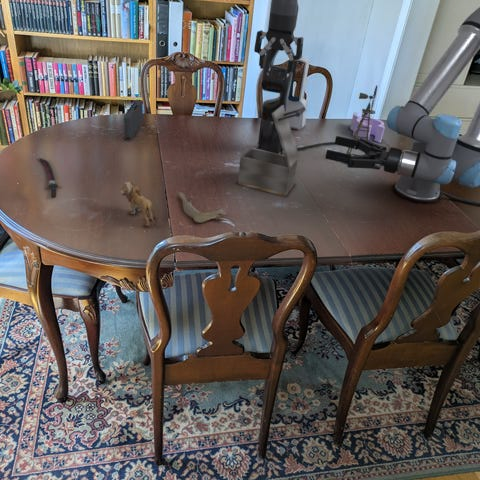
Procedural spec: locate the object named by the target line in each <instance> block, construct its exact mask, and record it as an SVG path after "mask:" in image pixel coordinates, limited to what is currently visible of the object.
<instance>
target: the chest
mask: <svg viewBox="0 0 480 480" xmlns="http://www.w3.org/2000/svg"><path fill="white" fill-rule="evenodd" d="M298 160H299V158H298V159H297V160H296V162H295V163H294V164H293V165H292V166H291V167H290V168H289V167H288V164H287V161H286V157H285V154H277V153H273V152H268V151H264V150H260V149H257V148H255V147H250V148H248V149H247V150H246V151H245V152H243V154H242V155H241V156H240V158H239V167H238V168H239V169H238V176H237V185H240V186H244V187H248V188H252V189H256V190H260V191H264V192H268V193H271V194H275V195H278V196H283V197H286V196H287V195H288V193H289V192H290V191H291V189H292V188H293V186H294V184H295V178H296V173H297V172H296V171H297V168H298V167H297V166H298Z"/></svg>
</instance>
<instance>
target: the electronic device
mask: <svg viewBox="0 0 480 480" xmlns="http://www.w3.org/2000/svg"><path fill="white" fill-rule="evenodd" d="M297 63H301V64H302V72H301V78H300V84H299V90H298V96H294V95H293V89H294V82H295V76H296V69H297ZM309 67H310V59H309V58H307V57H305V56H302V57H301V58H300V59H299V60H295V62H294V69H293V71H292V81H291V86H290V91H289V96H288V103H287V109H286V113H288V112H291V111H295V110H298V109H301V108H302V107H305V108H306V110H305V111H304V112H303V113H302V114H301V115H300V116H299V117H297V116H295V117H291V118H288V122H289V125H290V128H291V130H297V131H300V130H302V129H303V128H304V127H305V125H306V119H307V105H308V101H307V100H306V99H305V98H304V97H305V91H306V86H307V79H308V72H309ZM293 114H296V113H293ZM290 115H292V114H290ZM287 116H289V115H287Z"/></svg>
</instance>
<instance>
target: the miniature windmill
mask: <svg viewBox="0 0 480 480" xmlns="http://www.w3.org/2000/svg"><path fill="white" fill-rule="evenodd" d="M377 91H378V85H375V88H374V91H373V94H372V95H368V94H366V93H363V92H360V93H359V96H358V100H367V99H369V102H368V104H367V105H366V108H362V109H361V111H362V112H361V116H362V119H361V121H360V124H361V125H360V124H359V126H358V127H357V130H356V132H355V135H354V136H352V139H354V140H356V141H357V139H358V138H365V139H366V140H367V141H369V140H368V134H369V121H370V115H375V114H376V110H373V108H374V104H375V99H376V96H377ZM371 100H372V101H371ZM362 113H364V115H362ZM368 114H369V115H368ZM366 115H368V117H365V116H366ZM364 118H368V119H364ZM364 120H368V126H367V127H363V126H362V123H363V121H364ZM361 127H362V128H367V131H366V130H360V128H361ZM357 131H358V132H357ZM359 131H365V132H367V136H366V137H359V136H358V133H359ZM357 137H358V138H357ZM353 150H356V149H355V148H349V147H347V151H346V153H345V154H351V156H355V155H357V154H355V153H352V151H353ZM357 150H358V151H360V150H359V149H357ZM364 155H367V154H366V153H364Z"/></svg>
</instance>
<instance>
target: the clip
mask: <svg viewBox="0 0 480 480" xmlns="http://www.w3.org/2000/svg"><path fill="white" fill-rule="evenodd" d="M358 114H359V113H358V112H353V114H352V118H351V122H350V126H349V129H350V130H351V131H353V132H352V137H354V135H355V132H356V130H357V127H358V126H359V124H360V121H361V119H362V115H364V113H362V112H361V115H358ZM368 115H369V114H368ZM368 115H366V116H365V117H368ZM364 119H368V118H364ZM360 125H361V124H360ZM362 126H363V127H367V126H368V120H364V121H363V123H362ZM385 129H386V127H385V122H384V121H383V120H380V119H377V118H374V117H372V114H370V121H369V134H368V141H370V135H372V136H374V139H373V140H374V142H376V143H382V140H383V137H384V132H385ZM360 130H366V131H367V128H362V127H361V128H360ZM357 132H358V131H357ZM358 136H359V137H366V136H367V132H365V131H359V133H358ZM356 139H357V140H359V139H360V138H358V137H357V138H356ZM362 139H365V138H362ZM365 140H366V139H365Z"/></svg>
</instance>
